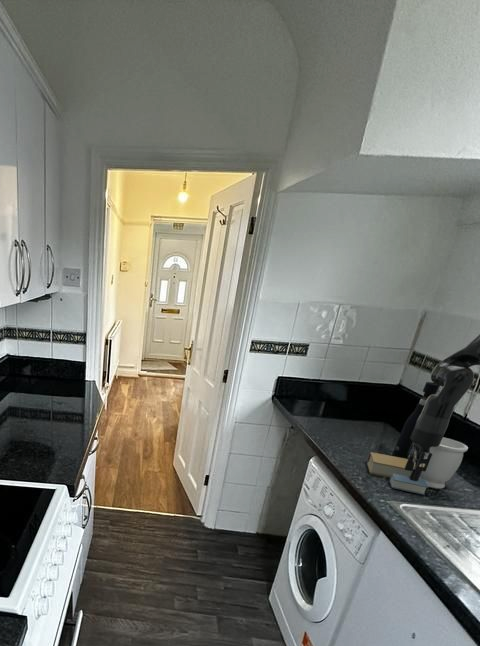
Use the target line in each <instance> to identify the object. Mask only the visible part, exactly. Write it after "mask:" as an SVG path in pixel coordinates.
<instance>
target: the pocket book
mask: <svg viewBox="0 0 480 646" xmlns="http://www.w3.org/2000/svg"><path fill="white" fill-rule="evenodd" d="M388 482H389V484H390V487H391V489H396V490H400V491H403V492H404V491H405V492H409V493H414V494H419V495H423V496H425V495H426V490H427V489H428V488H429V487H428V486H427V484H426V482H425V480H423V479H418V481H412V480H410V479H409V476H404V475H399V474H394V473H392V475H391V478H390V477H389V481H388Z"/></svg>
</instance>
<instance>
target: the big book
mask: <svg viewBox="0 0 480 646" xmlns="http://www.w3.org/2000/svg"><path fill="white" fill-rule="evenodd" d="M407 461H408V459H405V458H400V457H395V456H392V455H390V454H384V453H380V452H374V451H370V453H369V455H368V458H367V461H366V464H367V468H368V472H369V474H371V475H376V476H380V477H386V478H389V479H390V478H391V475H392V473H394V474H399V475H404V476H409V477H410V475H411V473H412V471H408V470H405V466H406V463H407Z"/></svg>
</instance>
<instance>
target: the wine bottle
mask: <svg viewBox="0 0 480 646" xmlns="http://www.w3.org/2000/svg"><path fill="white" fill-rule="evenodd" d="M439 388H440V386H439V385H437V384H435V383H434V382H432V381H426V382H425V385H424V387H423V389H422V392H423V396H422V398H420V400H419V402H418V403H417V404H416V407H415V409H414V411H413V412H412V413H411V414H410V415H409V416H408V417H407V419H406V420H405V422H404V424H403V427H402V429H401V431H400V434H399V436H398V439H397V441H396V444H395V446H394V449H393V451H392V454H391V456H395V457H400V458H405V459H408V456H409V455H408V454H407V453H408V451H409V449H410V447H411V444H412V442H413V441H412V440H411V439H410V437H411V435H412V432H413V430H414V427H415V425H416V422H417V420H418V418H419V416H420V414H421V412H422V410H423V408H424V405H425V403H426V400H427V398H428V397H429V396H430V395H432V394H438V390H439Z"/></svg>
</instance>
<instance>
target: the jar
mask: <svg viewBox="0 0 480 646" xmlns="http://www.w3.org/2000/svg"><path fill="white" fill-rule="evenodd" d="M468 449H469V447H468V445H466V444H465V443H463V442H461V441H458V440H455V439H452V438H448V437H444V436H443V438H442V440H441V443H440V445H439V446H437V447H430V450H429V451H430V453H432V456H431V459H430V461H429V464H428V466H427V469H426V471H425V472H424V471H422V472H421V475H420V477H419V479H423V480H425V482H426V484H427V486H428V488H432V489H444V488H445V487H446V483H447V482H448V481H449V480H450V479H452V477H453V476H454V475H455V473H456V472H457V471H458V470H459V468H460V466H461V464H462V461H463V458H464V453H466V452H467V451H468ZM419 466H420V467H421V466H422V464H420V465H419Z"/></svg>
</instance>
